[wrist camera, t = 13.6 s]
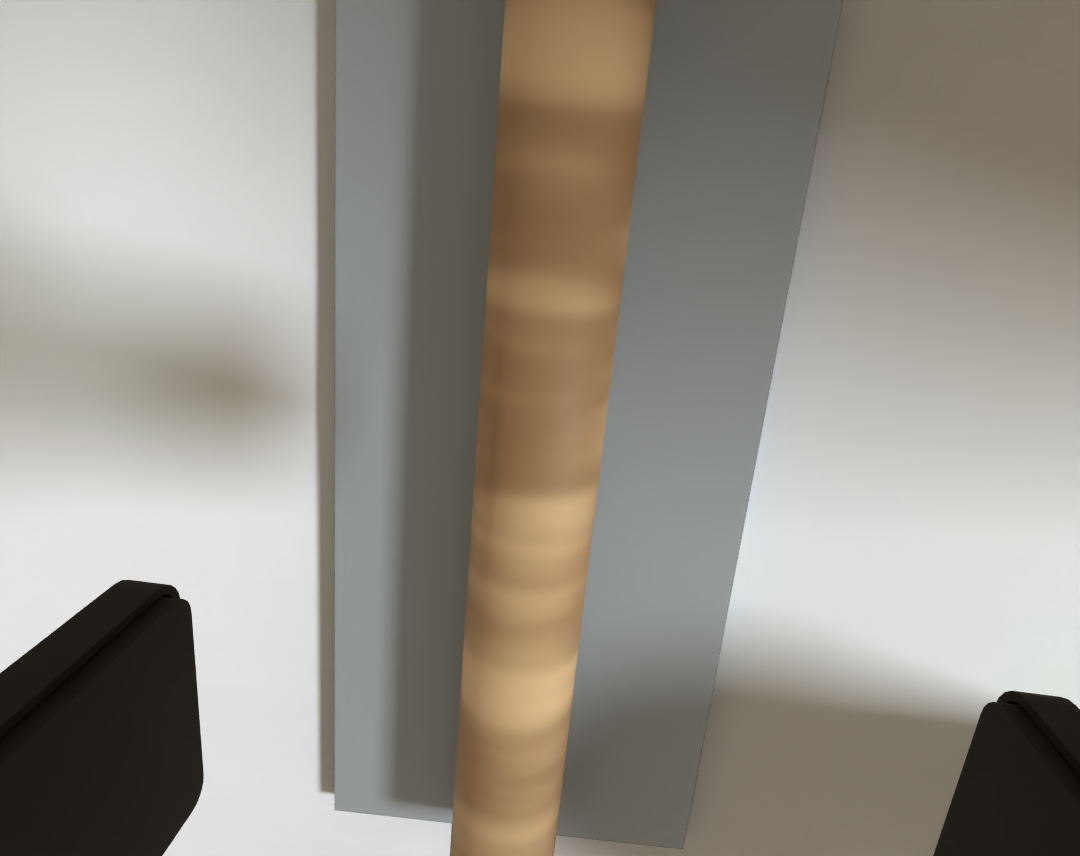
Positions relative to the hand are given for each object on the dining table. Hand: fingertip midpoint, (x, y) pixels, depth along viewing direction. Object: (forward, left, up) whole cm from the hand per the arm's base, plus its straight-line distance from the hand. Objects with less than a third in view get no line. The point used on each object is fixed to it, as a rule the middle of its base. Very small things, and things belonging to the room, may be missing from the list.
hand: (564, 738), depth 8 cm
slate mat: (+1, 0, -11) cm, 11 cm away
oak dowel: (+1, 0, -11) cm, 11 cm away
